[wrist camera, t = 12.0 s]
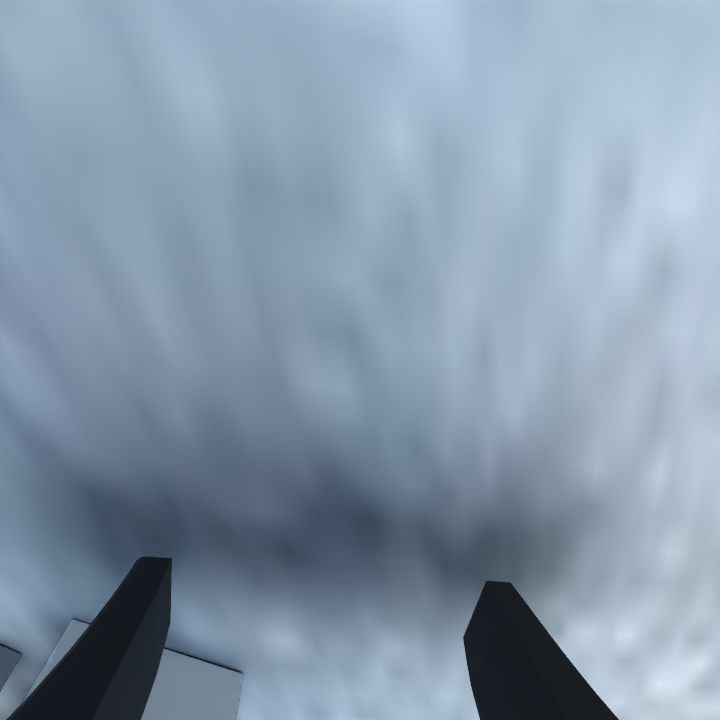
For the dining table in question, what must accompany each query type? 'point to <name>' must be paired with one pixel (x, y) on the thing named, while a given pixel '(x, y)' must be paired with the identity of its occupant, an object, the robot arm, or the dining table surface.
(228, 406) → the dining table surface
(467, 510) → the dining table surface
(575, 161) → the dining table surface
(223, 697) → the tall pale grey block
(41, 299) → the dining table surface
